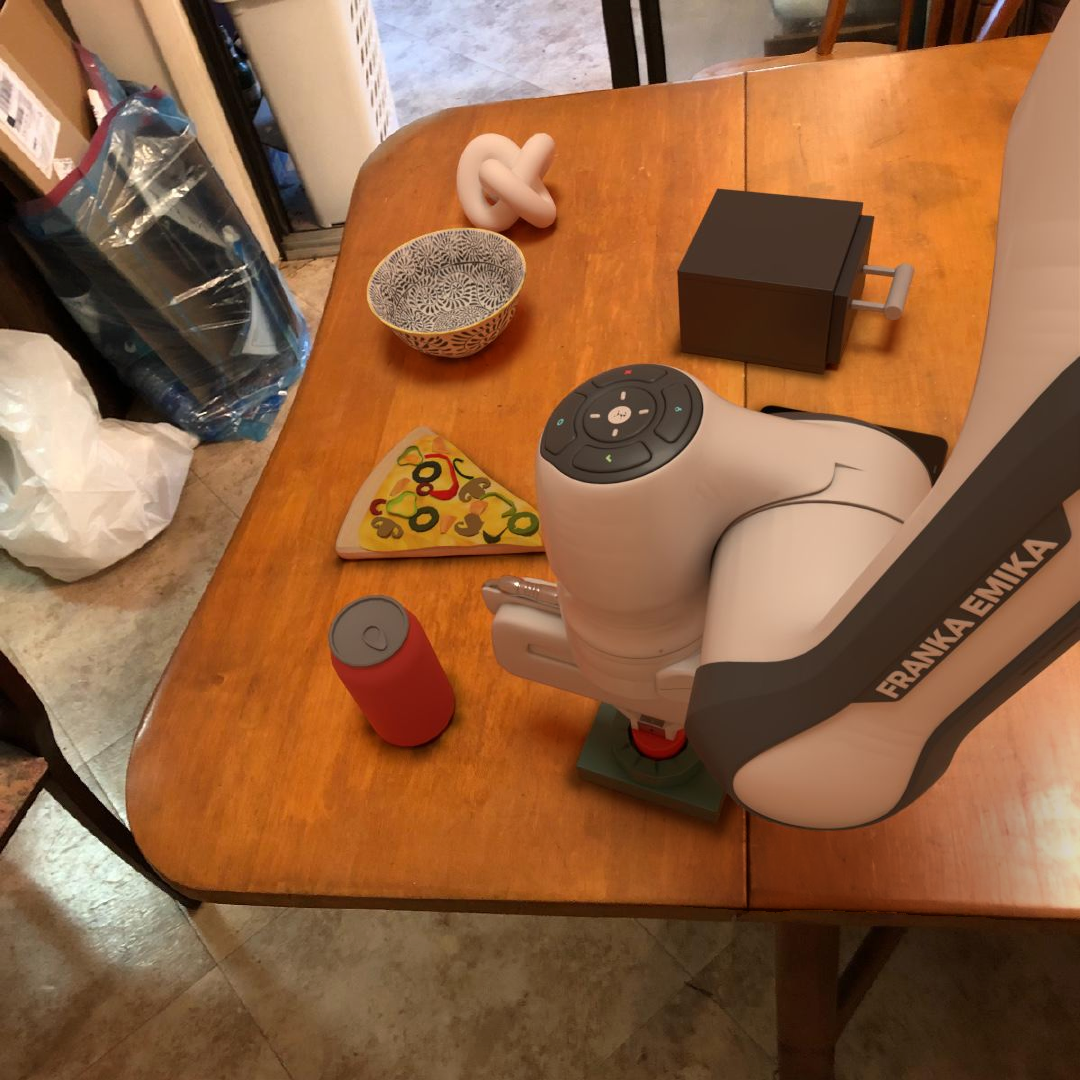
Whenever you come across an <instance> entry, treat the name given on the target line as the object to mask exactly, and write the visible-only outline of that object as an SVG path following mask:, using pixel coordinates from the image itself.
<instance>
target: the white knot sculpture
mask: <svg viewBox="0 0 1080 1080" xmlns="http://www.w3.org/2000/svg"><path fill="white" fill-rule="evenodd" d="M555 156H556V142H555V141H554V139H553V138H552V136H551V135H549V134H547V133H546V132H539V133H535V134H534V135H532V136H531V137H530V138H528V139H527V141H525V143H524V144H523V146H522V147H521V148H520V147H519V145H518V144H517V143H515V142H514V141H513V140H512V139H510V138H508V137H506V136H504V135H502V134H499V133H498V134H497V133H492V132H491V133H483V134H480V135H478V136H476V137H475V138H473V139H472V140H471V141H470V142H469V143H468V144H467V145H466V147H465V148H464V150H463V151H462V152H461V155H460V159H459V161H458V164H457V170H456V191H457V196H458V200H459V201H458V202H459V203H460V207H461V209H462V211H463V213H464V215H465V217H466V218H467V219H468V221H469V222H470V223H471V224H472V225H473V226H474V228H477V229H484V230H488V231H492V232H495V233H500V232H505V231H506V230H509V228H511V227H513V225H514V224H515V223H516V222H517V220H518V219H519V218H521V219H522V220H524V221H526V223H529V224H531V225H532V226H534V227H535V228H537V229H538V228H539V229H546V228H549V227H550V226H551V225H552V224H554V223H555V220H556V218H557V206H556V204H555V202H554V199H553V197H552V196H551V194H550V192H549V190H548V189H547V188H546V186H545V184H544V182H543V181H542V180H543V179H544V178H545V176H546V174H547V173H548V171H549V169H550V167H551V165H552V164H553V161H554V159H555ZM484 192H485V193H486V195H487V196H488V198H490V199H491V200H492V201H493V202H494V203H495V204H493V205H492V204H490V203H489V202H488V200H487V198H486V196H485V193H484Z"/></svg>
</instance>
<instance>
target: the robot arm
mask: <svg viewBox="0 0 1080 1080" xmlns="http://www.w3.org/2000/svg"><path fill="white" fill-rule="evenodd" d="M997 213H998V214H997V225H996V235H995V237H996V238H995V248H994V257H993V268H992V278H991V286H990V293H989V301H988V309H987V310H988V311H987V317H986V323H985V324H986V325H985V329H984V335H983V340H982V346H981V353H980V358H979V364H978V367H977V372H976V377H975V381H974V385H973V390H972V393H971V397H970V401H969V404H968V407H967V410H966V415H965V417H964V421H963V424H962V426H961V428H960V431H959V434H958V437H957V439H956V443H955V444H954V446H953V448H952V451H951V454H950V455H949V457H948V459H947V462H946V463H945V465H944V468H943V471H942V473H941V475H940V476H939V478H938V480H937V481H936V483H935V485H934V486H933V488H932V479H931V475H930V473H929V470H928V468H927V466H926V464H925V463H924V461H923V460H922V459H921V457H920V456H919V455H918V454H917V453H916V452H915V451H914V450H913V449H912V448H911V447H910V446H909V445H907V444H906V443H905V442H904V441H902V440H901V439H900V438H898V437H896V436H895V435H893V434H892V433H890V432H889V431H887V430H885V429H883V428H881V427H879V426H876V425H874V424H875V423H871V422H869V421H866V420H863V419H859V418H855V417H852V416H846V415H841V414H834V413H833V414H832V413H824V412H813V413H810V412H811V411H807V412H783V413H773V414H765V413H761V412H760V411H757V410H754V409H750V408H747V407H744V406H741V405H738V404H736V403H733V402H732V401H729V400H728V399H726V398H724V397H722V396H721V395H720V394H718V393H717V392H715V391H714V390H713V389H712V388H710V387H709V386H708V385H707V384H705V382H703V381H702V380H700V379H699V378H698V377H696V376H695V375H693V374H691V373H689V372H687V371H686V370H683V369H681V368H678V367H675V366H671V365H666V364H661V363H631V364H625V365H621V366H616V367H614V368H613V367H612V368H610V369H607V370H605V371H603V372H600V373H598V374H596V375H594V376H592V377H590V378H588V379H587V380H586V381H583V382H582V383H581V384H579V385H578V386H576V387H575V388H574V389H573V390H572V391H571V392H569V393H568V394H567V395H566V396H565V397H564V398H563V399H562V400H561V401H560V402H559V404H557V406H556V407H555V408H554V409H553V411H552V412H551V414H550V415H549V417H548V419H547V421H546V423H545V425H544V427H543V429H542V431H541V434H540V436H539V440H538V442H537V447H536V452H535V459H534V485H535V486H534V487H535V498H536V506H537V511H538V514H539V521H540V526H541V532H542V537H543V542H544V546H545V551H546V552H545V554H546V555H545V556H546V558H547V561H548V564H549V567H550V569H551V571H552V573H553V575H554V576H555V578H556V583H555V582H552V581H547V580H543V579H540V578H534V577H528V576H527V577H525V576H524V577H523V576H521V577H519V576H515V575H511V574H502V575H501V576H500V578H489V579H486V580H485V581H484V582H483V584H482V585H481V596H482V599H483V602H484V605H485V607H486V608H487V610H488V611H489V612H490V613H491V614H492V615H494V617H493V619H492V622H491V629H490V630H491V631H490V634H491V643H492V650H493V654H494V658H495V660H496V663H497V664H498V666H500V667H501V668H502V669H504V670H505V671H506V672H507V673H509V674H510V675H512V676H515V677H517V678H521V679H524V680H528V681H531V682H535V683H538V684H542V685H545V686H548V687H551V688H555V689H558V690H561V691H564V692H568V693H571V694H574V695H578V696H582V697H584V698H588V699H590V700H594V701H597V702H600V703H601V702H604V703H607V704H611V705H613V706H614V707H615V708H617V709H618V710H619V711H620V712H621V713H623V714H624V715H625V716H626V717H628V718H630V722H631V727H632V728H633V729H637V730H639V731H643V732H646V733H650V734H654V735H657V736H660V737H663V738H666V739H669V740H672V741H673V740H674V739H675V736H676V733H677V731H678V730H680V729H683V728H684V732H685V735H686V737H687V738H688V740H689V742H690V743H691V745H692V747H693V749H694V750H695V752H696V753H697V755H698V756H699V758H700V759H701V761H702V762H703V764H704V765H705V767H706V768H707V770H708V771H709V772H710V774H711V775H712V776H713V778H714V779H715V780H716V781H717V783H718V784H719V785H720V786H721V787H722V788H723V789H724V791H725V792H726V795H728V797H730V798H731V799H732V800H733V801H734V803H736V804H737V805H738V806H739V807H740V808H741V809H743V810H745V811H746V812H747V813H749V814H751V815H753V816H754V817H757V818H758V819H761V820H764V821H767V822H769V823H773V824H775V825H779V826H783V827H787V828H792V829H797V830H805V831H816V832H841V831H850V830H856V829H863V828H867V827H869V826H873V825H877V824H880V823H882V822H884V821H886V820H888V819H889V818H892V817H894V816H895V815H897V814H898V813H900V812H902V811H903V810H905V809H906V808H908V807H909V806H911V805H912V804H913V803H914V802H916V801H917V800H918V799H919V798H921V797H922V796H923V795H924V794H926V792H927V791H928V790H930V788H932V787H933V786H934V785H935V784H936V783H937V782H938V781H939V780H940V779H941V778H942V777H943V775H944V774H945V773H946V772H947V771H948V769H949V767H950V766H951V763H952V761H953V759H954V756H955V754H956V753H957V750H958V749H959V747H960V745H961V744H962V743H963V741H964V740H965V738H967V736H968V735H969V734H970V733H971V732H973V730H974V729H975V728H976V727H978V725H980V723H982V722H983V721H985V719H986V718H988V717H989V716H990V715H991V714H992V713H994V712H995V711H996V710H997V709H999V708H1000V707H1001V706H1002V705H1003V704H1005V703H1006V702H1007V701H1008V700H1010V699H1011V698H1012V697H1013V696H1014V695H1016V694H1017V693H1018V692H1019V691H1020V690H1022V689H1023V688H1024V687H1025V686H1027V685H1028V684H1029V683H1031V682H1032V681H1033V680H1034V679H1035V678H1036V677H1037V676H1039V675H1040V674H1041V673H1042V672H1044V671H1045V670H1046V669H1047V668H1048V667H1049V666H1051V665H1052V664H1053V663H1054V662H1055V661H1056V660H1058V659H1059V658H1061V657H1062V656H1063V655H1064V654H1065V653H1067V652H1068V651H1069V650H1070V649H1072V648H1073V647H1074V646H1075V645H1077V643H1079V642H1080V0H1069V2H1068V4H1067V5H1066V7H1065V9H1064V10H1063V13H1062V15H1061V17H1060V18H1059V20H1058V21H1057V24H1056V27H1055V28H1054V29H1053V31H1052V34H1051V35H1050V37H1049V40H1048V42H1047V43H1046V46H1045V47H1044V48H1043V51H1042V53H1041V55H1040V57H1039V59H1038V61H1037V63H1036V65H1035V67H1034V69H1033V72H1032V74H1031V75H1030V77H1029V80H1028V82H1027V83H1026V86H1025V88H1024V90H1023V92H1022V94H1021V96H1020V98H1019V100H1018V102H1017V105H1016V107H1015V109H1014V112H1013V115H1012V118H1011V121H1010V123H1009V127H1008V131H1007V136H1006V141H1005V146H1004V153H1003V160H1002V169H1001V178H1000V189H999V200H998V212H997Z"/></svg>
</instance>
